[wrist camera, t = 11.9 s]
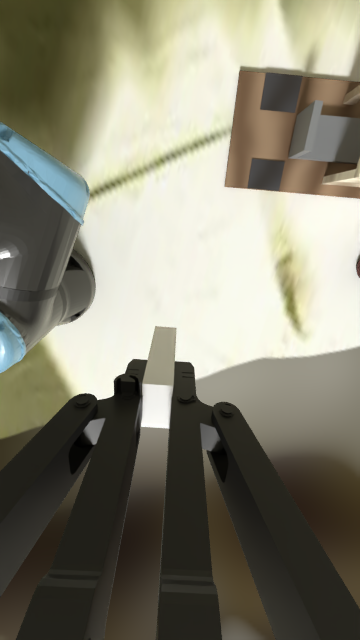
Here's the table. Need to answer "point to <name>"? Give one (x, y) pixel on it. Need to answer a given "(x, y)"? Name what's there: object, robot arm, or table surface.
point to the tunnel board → (287, 135)
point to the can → (358, 268)
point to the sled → (325, 137)
